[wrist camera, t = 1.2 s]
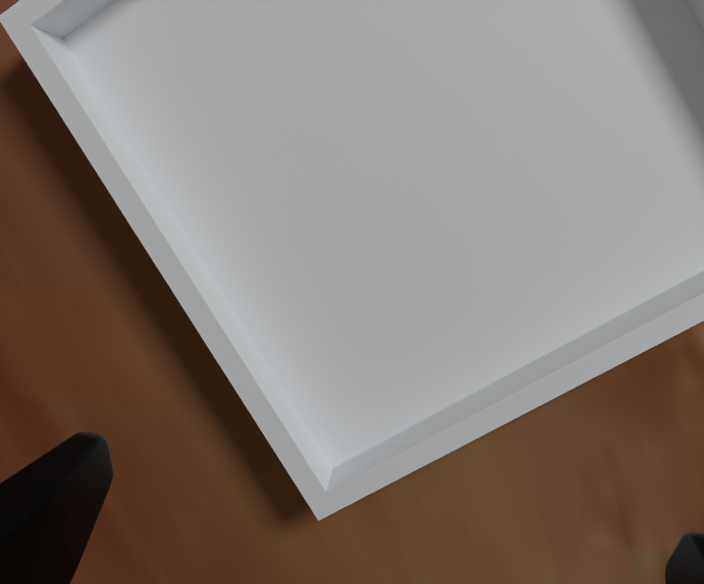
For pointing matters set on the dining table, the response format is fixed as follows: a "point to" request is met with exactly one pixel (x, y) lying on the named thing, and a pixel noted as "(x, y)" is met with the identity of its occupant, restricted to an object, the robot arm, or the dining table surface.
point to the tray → (396, 200)
